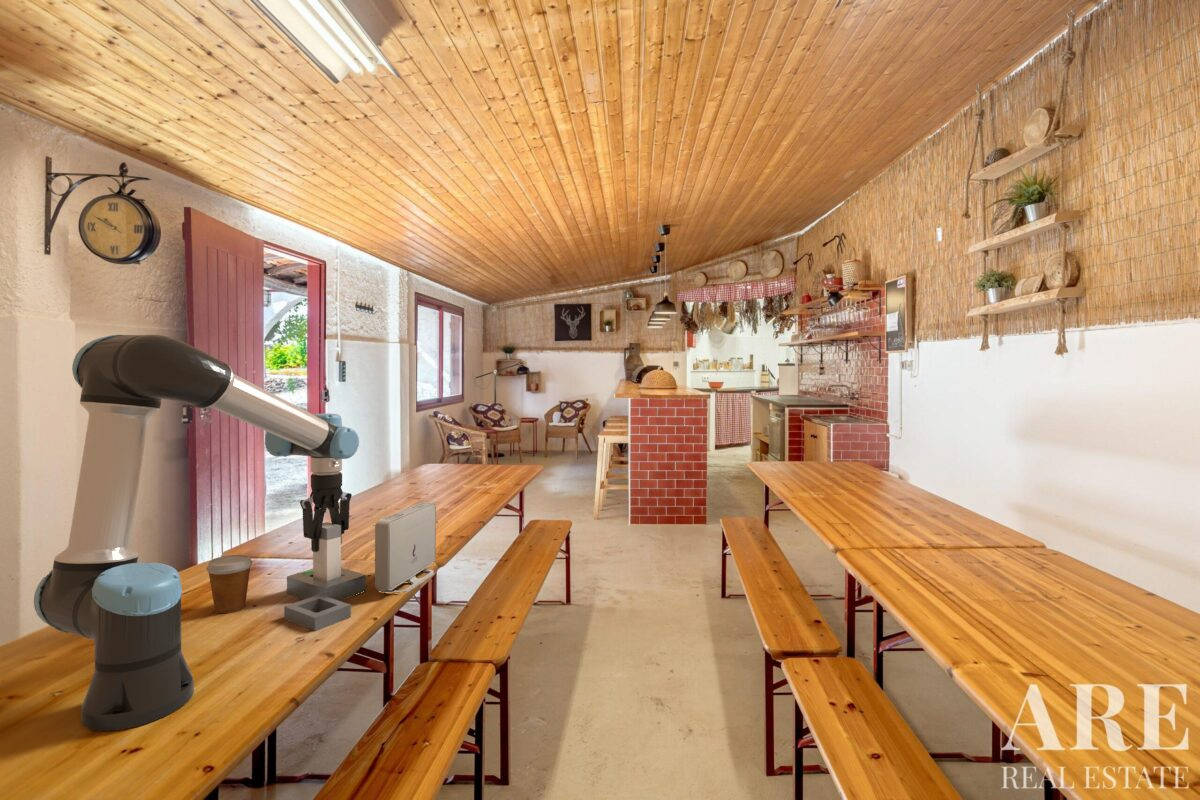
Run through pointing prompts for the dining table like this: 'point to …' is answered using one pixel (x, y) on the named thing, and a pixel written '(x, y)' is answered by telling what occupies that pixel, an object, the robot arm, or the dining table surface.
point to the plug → (329, 553)
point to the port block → (326, 585)
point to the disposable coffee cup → (229, 581)
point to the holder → (329, 612)
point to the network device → (405, 547)
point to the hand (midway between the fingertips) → (326, 560)
